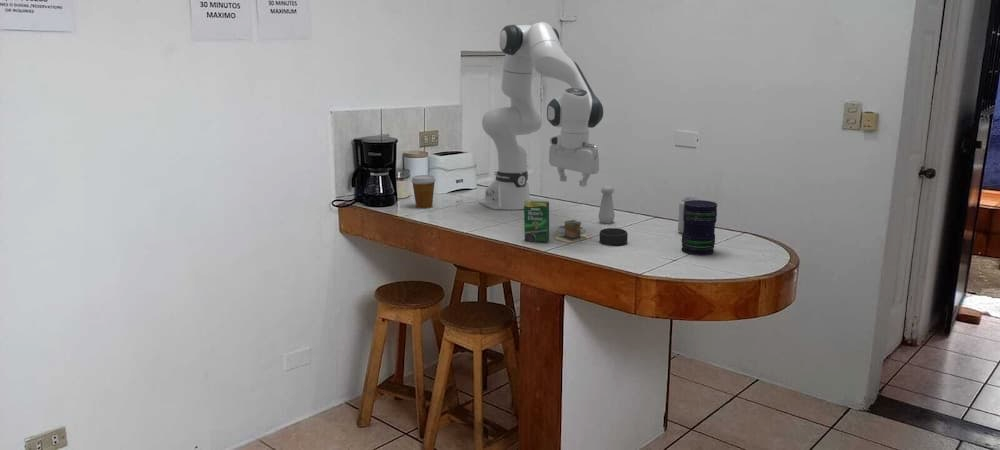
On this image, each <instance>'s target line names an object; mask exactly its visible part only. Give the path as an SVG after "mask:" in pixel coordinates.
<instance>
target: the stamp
mask: <svg viewBox="0 0 1000 450" xmlns="http://www.w3.org/2000/svg"><path fill="white" fill-rule="evenodd" d="M581 224H582V221H579V220H576V219H570V220H566V221H564V225H565V233H564V235H563V236H564V238H568V239H571V240H574V239H578V238H581V236H580V234H581V233H580V227H582V226H581Z"/></svg>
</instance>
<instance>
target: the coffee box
mask: <svg viewBox="0 0 1000 450" xmlns="http://www.w3.org/2000/svg"><path fill="white" fill-rule="evenodd" d="M523 215H524V216H523V218H524V219H523V221H524V222H523V223H524V224H523V225H524V241H525V242H535V243H536V242H537V243H542V242H543V243H545V244H548V243H549V242H550V201H543V200H542V201H540V200H530V201H525V202H524V209H523Z"/></svg>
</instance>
